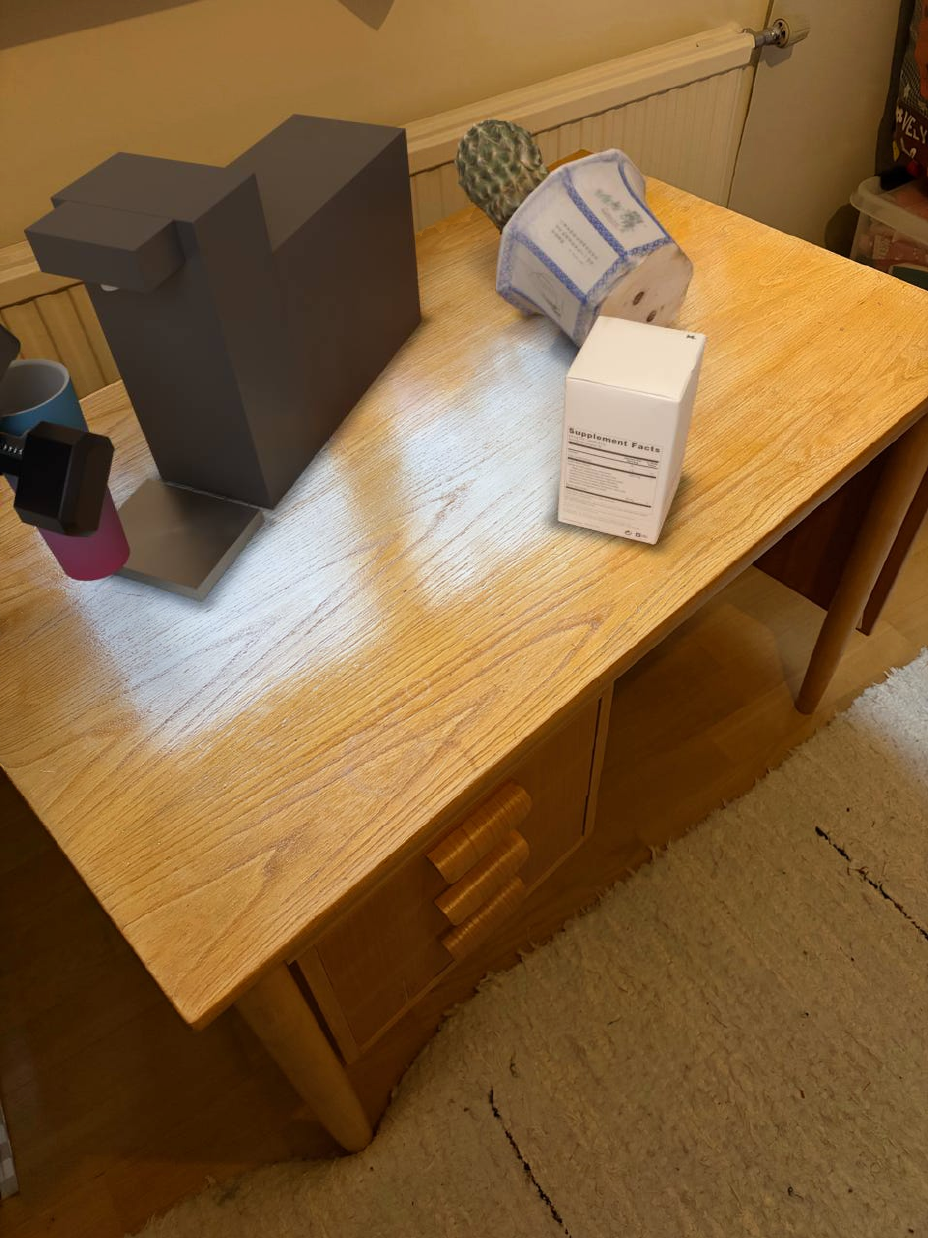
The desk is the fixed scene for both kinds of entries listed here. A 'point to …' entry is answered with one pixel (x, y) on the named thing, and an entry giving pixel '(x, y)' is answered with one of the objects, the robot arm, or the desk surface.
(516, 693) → the desk surface
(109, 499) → the cup
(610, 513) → the white product box
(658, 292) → the potted plant
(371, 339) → the coffee maker
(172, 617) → the desk surface
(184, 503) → the grey tray
